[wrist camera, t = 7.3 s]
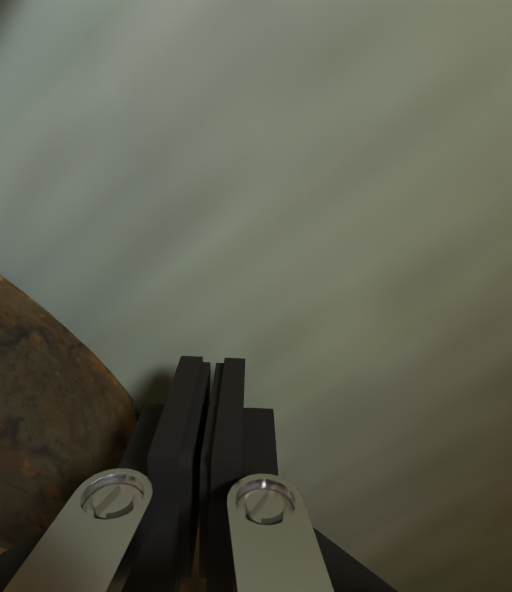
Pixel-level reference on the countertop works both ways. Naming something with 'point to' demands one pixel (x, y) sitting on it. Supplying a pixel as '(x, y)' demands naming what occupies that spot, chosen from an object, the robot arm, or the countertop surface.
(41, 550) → the robot arm
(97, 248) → the countertop surface
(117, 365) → the countertop surface
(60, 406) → the hand tool
